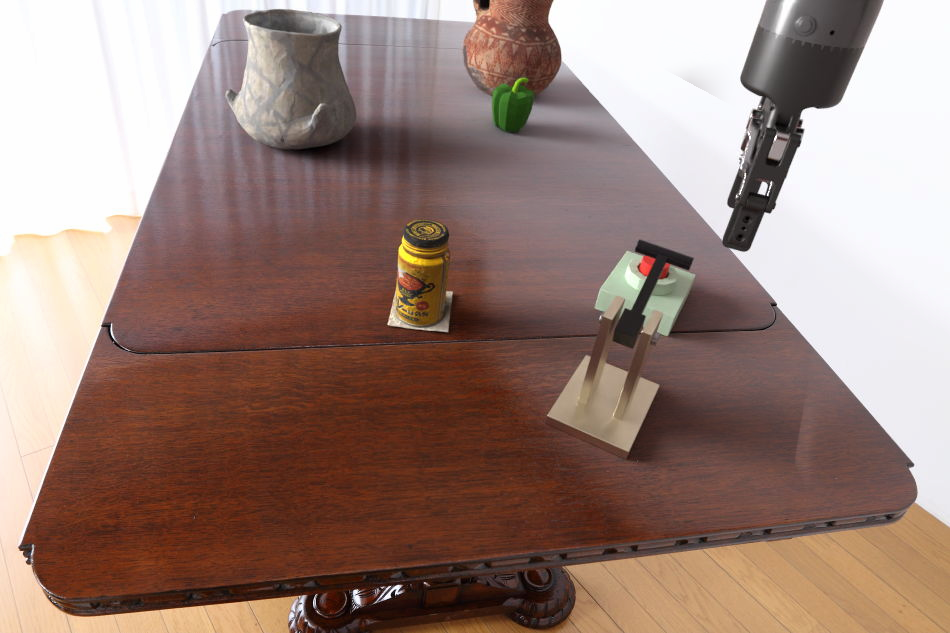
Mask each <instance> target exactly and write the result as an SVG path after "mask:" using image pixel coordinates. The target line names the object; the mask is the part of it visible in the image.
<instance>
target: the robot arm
mask: <svg viewBox="0 0 950 633" xmlns="http://www.w3.org/2000/svg"><path fill="white" fill-rule="evenodd" d="M884 1H885V0H765V3H764V5H763V9H762V12H761V14H760V17H759V21H758V23H757V26H756V30H755V31H754V35H753V38H752V41H751V44H750V47H749V50H748V52H747V56H746V58H745V61H744V64H743V68H742V70H741V74H740V78H739V81H740V83H741V85H742V87H743V88H745V90H747V91H748V92H750V93H752V94H754V95H755V96H758V97H761V98H760V100H759V102H758V106H757V108H752V109H751V111H750V113H749V115H748V120H747V123H746V127H745V129H746V131H745V132H744V135H743V137H742V142H741V145H740V150H741V152H742V153H741V154H739V157H738V160H739V167H738V170H737V172H736V175H735V177H734V181H733V183H732V186H731V189H730V191H729V195H728V196H727V201H726V204H727V207H729V208H730V209H733V210H732V212H731V215H730V216H729V220H728V223H727V225H726V228H725V231H724V234H723V236H722V241H721V243H722V245H723V247H724V248H726V249H730V250H734V251H738V252H741V253H745V252H749V250H750V249H751V247H752V245H753V242H754V240H755V238H756V235H757V233H758V230H759V227H760V225H761V224H762V220H763V219H764V216H765V214H768V215H769V214H772V212H773V210H775V209H776V206H777V200H778V198H779V195H780V192H781V190H782V188H783V185H784V182H785V180H786V179H787V177H788V174H789V171H790V168H791V165H792V163H793V160H794V158H795V155H796V153H797V151H798V148H800V147H801V144H802V140H803V138H804V134H805V128H804V127H803V123H804V119H803V118H801V115H802V112H803V111H804V110H807V109H811V108H814V109H816V110H824V109H825V110H826V109H831V108H833V107H836V106H838V105H839V104H840V103H842V102H841V101H842V100H843V98H844V96H845V94H846V92H847V89H848V87H849V84H850V82H851V79H852V77H853V76H854V73H855V70H856V68H857V65H858V63H859V61H860V59H861V56H862V54H863V52H864V50H865V47H866V45H867V43H868V41H869V39H870V36H871V33H872V31H873V29H874V27H875V24H876V22H877V20H878V17H879V15H880V12H881V9H882V8H883V4H884ZM763 183H766V185H767V186H766V190H765V194H762V193H759V191H760V189H761V186H762V184H763Z"/></svg>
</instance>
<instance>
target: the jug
mask: <svg viewBox="0 0 950 633" xmlns="http://www.w3.org/2000/svg"><path fill="white" fill-rule="evenodd" d="M554 1H555V0H472V5H473V8H474V11H475V17H476V19H475V21H474V24H473V26H472V27H471V28H470V29H469V30H468V31H467V33H466V34H465V36H464V38H463V43H462V52H461V53H462V57H463V58H462V59H463V64H464V65H463V66H464V68H465V70H466V72H467V74H468V76H469V78H470V79H471V81H472V82H473V84H475V86H476V88H478V89H479V90H480V91H481V92H483V93H484V94H488V95H490V96H493V92H494V90H495V89H496V88H497V87H498V86H499V85H500V84H502V83H503V84H507V85H508V86H510V87H513V86H514V84H515V82H516V81H517V80H518V79H520V78H524V77H525V78H528V79H529V81H528V82H527V83H524V82H523V83H521V84H520V85H524V86H525V87H526V88H527V89H529V90H533V93H534V97H536V96H539V95H540V94H541V93H543V92H544V91H545V90H546V89H547V88H548V87H549V86H550V85H551V83H553V81H554V80H555V78H556V76H557V75H558V73H559V71H560V69H561V66H562V48H561V45H560V41H559V39H558V37H557V35H556V33H555V31H554V29H553V28H552V27H551V24H550V23H549V20H550V18H549V17H550V11H551V8H552V5H553V3H554Z"/></svg>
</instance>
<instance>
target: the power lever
mask: <svg viewBox="0 0 950 633" xmlns="http://www.w3.org/2000/svg"><path fill="white" fill-rule="evenodd" d="M634 253H636V254H639V255H641V256H648V257H651V258H654V259H655V261H654V263H653V265H652V268H651V270H650V272H649V274H648V276H647V278H646V280H645V282H644V284H643V286H642V288H641V290H640V293H639V295H638V297H637V299H636V301H635V303H634V305H633V307H632V309H631V310H629V309H627V308H625V309H624V311H623V313H622V315H621V317H620V318H619V321H618V323H617V325H616V327H615V330H614V335H613V341H612V342H613V343H616V344H619V345H621V346H623V347H626V348H628V349H631V350H633V349H634V348H635V347H636V345H637V344H636V343H638V340H639V338H640V336H641V333H642V330H643V329H644V327H643V325H644V321H645V317H646V316H645V315H643V312H644V310H645V308H646V305H647V303H648V301H649V299H650V297H651V295H652V293H653V291H654V288H655V286H656V284H657V282H658V280H659V278H660V276H661V274H662V271H663V269H664V267H665V265H666V263H668V264H670V265H671V266H673V267H676V268H678V269H681V270H684V271H687V272H690V270H691V268H692V265H693V263H694V260H695V257H693V256H690V255H687V254H685V253H682V252H678V251H675V250H673V249H670V248H667V247H665V246H661V245H658V244H656V243H652V242H649V241H647V240H643V239H638V240H637V243H636V245H635V248H634Z"/></svg>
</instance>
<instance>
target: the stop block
mask: <svg viewBox="0 0 950 633" xmlns="http://www.w3.org/2000/svg"><path fill="white" fill-rule="evenodd" d="M644 256H645V255H642V254H639V253H636V252H632V251H629V250H626V252H625V253H624V255H623V256H622V258H621V259H620V260H619V261H618V263H617V264H616V266H615V267H614V268H613V270H612V271H611V273H610V274H609V275H608V277H607V278H606V280H605V281H604V283H603V284H602V285H601V287H600V288H599V291H598V294H597V298H596V302H595V305H594V310H597V311H600V312H601V313H602V312H603V311H604V312H606V310H607V309H608V307H609V306H610V304H611V303H612V301H613V300H614V298H615V297H616V295H617V296H620V297H623V298H625V302H624V305H623V309H622V312H621V315H622V313H623V311H624V309H625V308H627V309H629V310H631V309H632V307H633V305H634V303H635V301H636V299H637V297H638V295H639V293H640V290H641V288H642V286H643V284H644V282H645V280H646V278H647V276H644V275H643V274H642V273H640V271H639V268H640V265H641V261H642V258H643V257H644ZM695 280H696V274H695V273H692V272H690V271H687V270H685V269H682V268H679V267H676V266H673V265H671V264H670V267H669V270H668V272H667V275H666V277H665V278H664V279H659V280H658V282H657V284H656V286H655V288H654V291H653V293H652V295H651V297H650V299H649V301H648V303H647V305H646V308H645V310H644V312H643V315H645V316H646V317H645V321H644V325H643V328H644V327H645V325H646V323H647V321H648V320H649V318H650V316H651V314H652V312H653V310H657V311H660V312H662V313H663V316H662V319H661V322H660V324H659V327H658V330H657V332H659V333H660V335H661V336H665V337H669V335H670V333H671V331H672V329H673V327H674V326H675V324H676V321H677V319H678V317H679V316H680V313H681V311H682V310H683V307H684V305H685V304H686V301H687V299H688V297H689V295H690V291H691V289H692V287H693V284H694V281H695ZM621 315H620V317H621Z"/></svg>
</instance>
